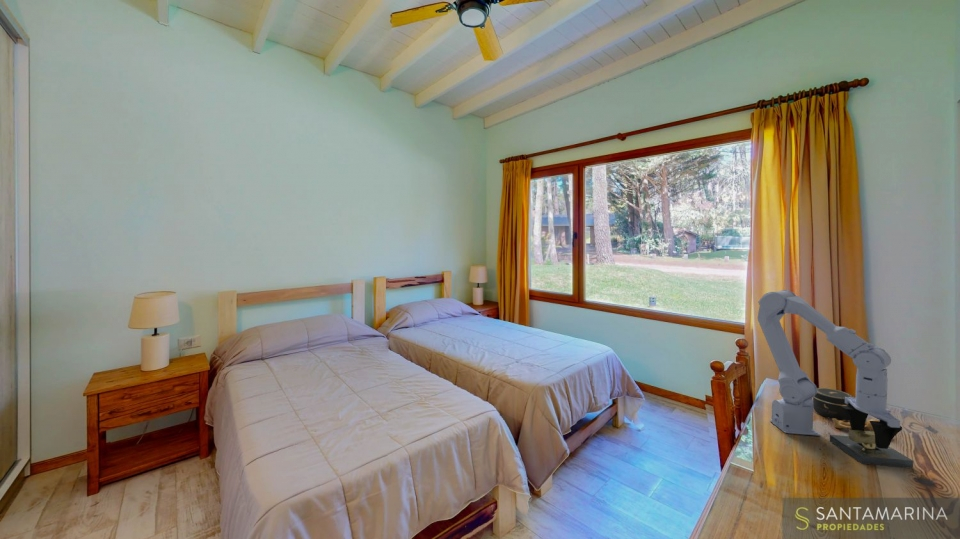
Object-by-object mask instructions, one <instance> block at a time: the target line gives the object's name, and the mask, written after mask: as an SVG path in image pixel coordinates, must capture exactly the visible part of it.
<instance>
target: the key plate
mask: <svg viewBox="0 0 960 539" xmlns="http://www.w3.org/2000/svg"><path fill="white" fill-rule="evenodd" d="M829 442H830V443H832V444H833V445H834V446H836V447H837V448H839V449H840V450H841V451H843V452H845V454H848V455H849V456H850V457H852V458H853V459H854V460H856V461H857V462H859V463H861V464H864V465H865V464H866V465H872V466H873V465H876V466H884V467H885V466H886V467H896V468H898V467H899V468H908V469H914V460H913V459H911V458H910V457H908V456H906V455H904V454H903V453H901V452H899V451H898V450H896V449H894V448H893V447H890V446H889V447H888V449H882V448H878V447H876V446H875V450H867V449H865V448H863V447H862V443H859V442H854V441H852V440H851V439H849V435H841V434H840V435H838V434H829Z"/></svg>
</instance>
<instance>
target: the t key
mask: <svg viewBox="0 0 960 539" xmlns="http://www.w3.org/2000/svg"><path fill="white" fill-rule="evenodd" d="M848 436H849V439H851V440H852V441H854V442H859V443H862V447H863V448H865V449H867V450H875V446H876V444H875V434H874V432H872V431H870V430H864V431H859V430H852V429H848Z"/></svg>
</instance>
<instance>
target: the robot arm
mask: <svg viewBox="0 0 960 539" xmlns="http://www.w3.org/2000/svg"><path fill="white" fill-rule="evenodd" d="M758 305H759V307H758V312H757V321H758V323H759V326H760V328H761V330H762V333H763V336H764V338H765V340H766V343H767V345H768V348H769V351H770V352H771V355H772V357H773V359H774V361H775V364H776V366H777V369H778V372H779V373H778V374H779V375H778V378H777V380H778V383H779V390H778V391H779V394H780V396H781V398H780V399H773V401H772V403H771V419H770V420H769V421H770V423H772V424H773V425H774V426H775V427H777V428H778V429H780V430H781V431H782V432H784V433H785V434H793V435H794V434H795V435H807V436H817V437H818V436H819V437H820V436H821V433H820V432H818V431H817V430H816V429H814V407H813V406H814V403H813V397H814V396H815V395H816V394H817V388H818V387H817V385H816V384H815V383H814V382H813V381H812V380H811V379H810V378H809V376H808V374H807V373H806V371H804V370H802V369H801V367H800V365H799V362H798V360H797V357H796V355H795V353H794V351H793V349H792V347H791V343H790V342H789V339H788V338H787V335H786V333H785V330H784V328H783V325H782V324H781V322H780V321H781V320H782V318H783V317H784V316H785V314H789V315H790V314H791V315H798V316H800V317H801V318H802V319H804V320H805V321H807V322H808V323H809V324H811V325H813V326H814V327H816V328H817V329H819V330H820V331H821V332H823V333H824V334H825V336H826V340H827V341H828V342H829V343H830V344H832V345H833V346H834V347H836V348H837V350H838V349H839V350H840V351H841V352H842V353H843V354H844V355H846V356H848V357H849V358H852V362H853V364H854V366H855V367H856V374H855V397H854V396H853V397H854V398H853V397H845V403H846V404H848V405H847V406H842V409H843V410H844V412H845V413H846V415H847V417H848V422H850V426H851V428H850V430H859V431H865V428H866V427H865V422H867V420H868V416H872V417H873V418H874V419H876V420H879V421H870V423H871V425H872V427H873V430H874V434H875V444H876V447H878V448H882V449H888V447H890V446H891V443H892V441H893V439H894V438H895V437H896V435H898V433H900V432H901V431H902V430H903V426H901V420H900V419H898V418H897V417H895V416H894V415H893V414H891V413H892V412H891V409H889V408H887V406H888V405H887V404H888V403H887V402H888V400H887V399H888V380H889V379H888V367H889V366H890V365H891V363H892V357H891V356H890V355H889V353H888V352H887V351H886V350H885V349H884V348H881V347H876V345H875V344H873V343H872V342H870V343H869V342H867V341H866V340H865V339H863V338H862V337H860V336H859V335H857V334H856V333H857V331H856V330H855V329H853V328H850V329H849V328H848V327H846V326H837V324H834V322H832V321H831V320H829V319H828V318H827V317H826V316H824V315H823V314H822V313H820V311H818V310H817V309H816V308H814V307H813V306H812V305H810V304H809V303H808V302H807V301H806V300H804V298H802V297H801V296H799V295H796V294H795V293H794V292H793V291H791V290H787V289H782V290H778V291H768V292H765V294H763V295H762V297H761V298H760V299H759V300H758Z"/></svg>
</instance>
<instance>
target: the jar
mask: <svg viewBox="0 0 960 539" xmlns="http://www.w3.org/2000/svg"><path fill="white" fill-rule="evenodd" d="M845 397H853V398H855V397H854V396H853V395H852V394H850V393H848V392H845V391H841V390H838V389H833V388H827V387H826V388H825V387H817V394H816V395H815V396H814V397H812V400H813V403H814V406H813V411H814V412H815V413H816V412H817V413H816V414H818V415H820V416H822V417H825V418H827V419H831V420H832V419H833V418H834V419H837V420H838V421H842V420H846V421H845V422H849V420H848V417H847V415H846V413H845V412H844V410H843V409H842V406H847V405H848V404H846V403H845Z"/></svg>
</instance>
